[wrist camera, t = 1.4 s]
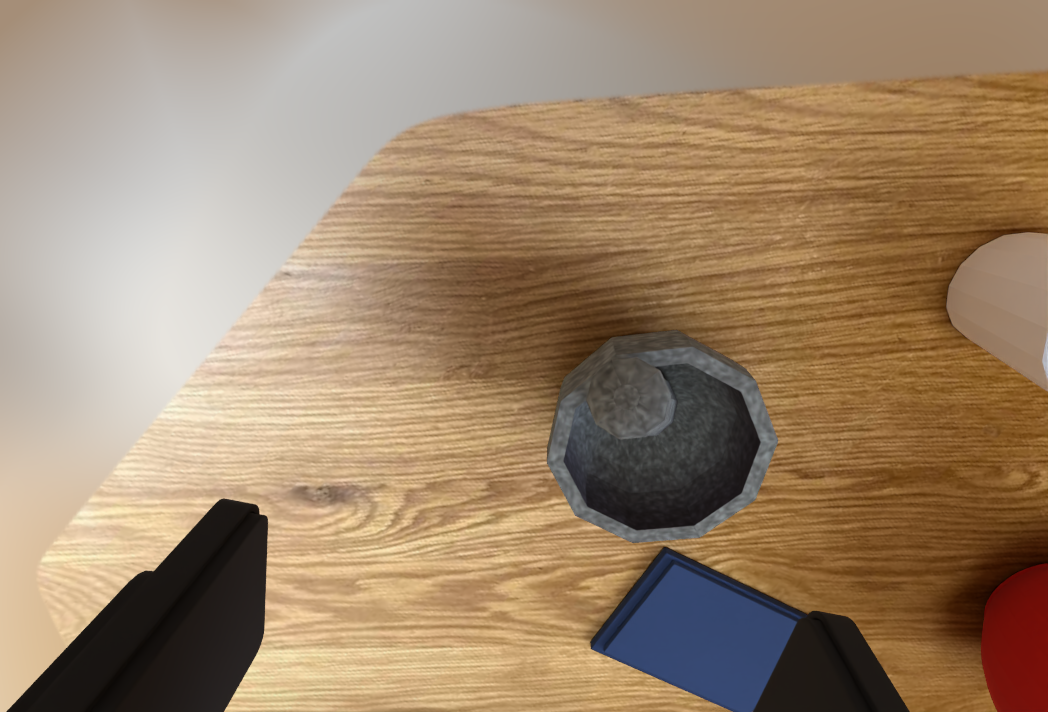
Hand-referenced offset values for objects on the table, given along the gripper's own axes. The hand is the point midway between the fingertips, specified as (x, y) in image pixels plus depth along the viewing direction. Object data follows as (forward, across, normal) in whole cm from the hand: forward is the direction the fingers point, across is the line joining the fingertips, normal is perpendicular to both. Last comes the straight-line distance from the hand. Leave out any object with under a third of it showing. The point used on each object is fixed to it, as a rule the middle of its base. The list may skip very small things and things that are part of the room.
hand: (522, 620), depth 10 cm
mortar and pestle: (+21, -6, +3) cm, 22 cm away
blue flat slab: (+21, -15, +20) cm, 32 cm away
